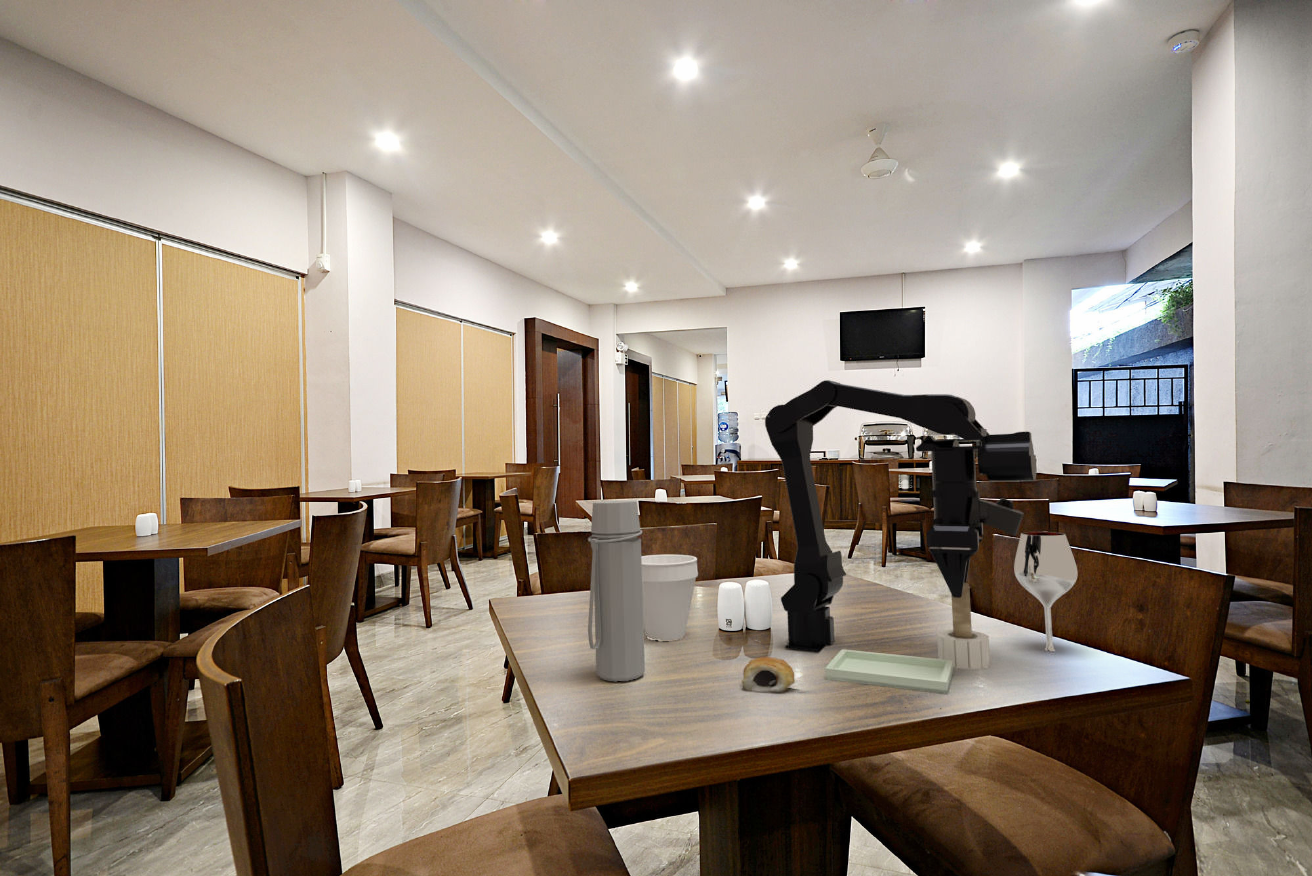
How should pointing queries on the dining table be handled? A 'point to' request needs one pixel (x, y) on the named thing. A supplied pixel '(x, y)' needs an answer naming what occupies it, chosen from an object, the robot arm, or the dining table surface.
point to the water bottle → (617, 591)
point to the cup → (667, 594)
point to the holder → (964, 650)
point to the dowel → (962, 614)
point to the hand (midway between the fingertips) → (959, 591)
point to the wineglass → (1045, 570)
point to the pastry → (767, 675)
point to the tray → (891, 671)
